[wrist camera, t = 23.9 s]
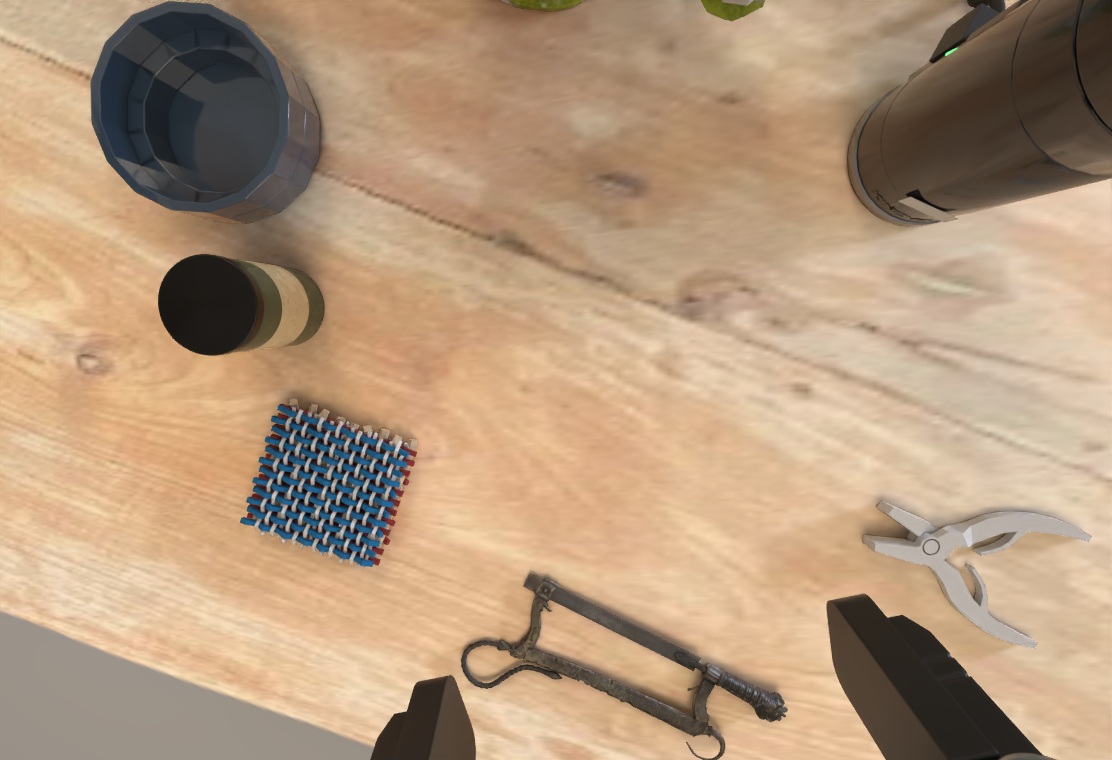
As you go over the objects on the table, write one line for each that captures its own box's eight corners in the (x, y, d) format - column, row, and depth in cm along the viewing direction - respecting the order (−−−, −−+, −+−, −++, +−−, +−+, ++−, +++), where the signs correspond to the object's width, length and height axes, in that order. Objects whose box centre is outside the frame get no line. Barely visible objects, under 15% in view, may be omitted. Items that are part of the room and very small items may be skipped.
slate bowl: (189, 9, 38) (133, -36, 33) (351, 93, 39) (320, 61, 34) (125, 175, 40) (61, 155, 35) (282, 254, 40) (242, 246, 35)
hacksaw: (789, 695, 43) (797, 708, 42) (725, 800, 45) (730, 817, 43) (511, 559, 43) (509, 568, 41) (453, 671, 44) (449, 683, 42)
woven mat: (383, 566, 43) (374, 579, 41) (250, 520, 43) (235, 530, 40) (425, 441, 42) (418, 447, 40) (289, 392, 41) (275, 396, 39)
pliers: (1043, 658, 41) (854, 590, 41) (1025, 645, 43) (843, 580, 42) (1104, 537, 40) (910, 466, 40) (1084, 529, 41) (897, 460, 41)
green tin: (265, 253, 40) (179, 236, 31) (337, 289, 40) (273, 282, 31) (235, 324, 41) (142, 327, 32) (306, 359, 41) (233, 372, 32)
